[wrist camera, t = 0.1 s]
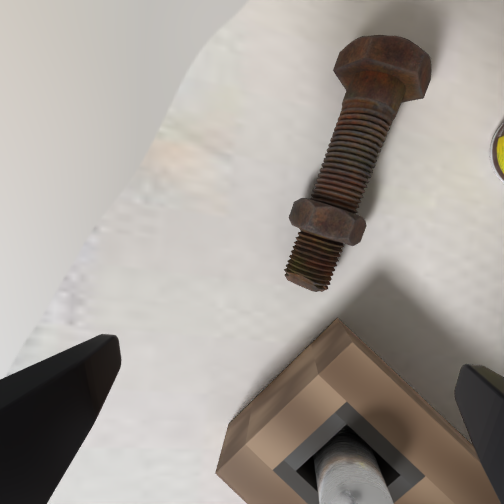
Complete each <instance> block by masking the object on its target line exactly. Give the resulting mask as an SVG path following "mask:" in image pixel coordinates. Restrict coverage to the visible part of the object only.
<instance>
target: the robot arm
mask: <svg viewBox="0 0 504 504" xmlns="http://www.w3.org/2000/svg"><path fill="white" fill-rule="evenodd" d="M120 367H121V354H120V346H119V340H118V337H117V336H116V335H109V334H101V335H98V336H96V337H94V338H92V339H89V340H87V341H85V342H83V343H81V344H78V345H76V346H74V347H72V348H69V349H67V350H65V351H63V352H61V353H58V354H56V355H54V356H52V357H49V358H47V359H45V360H43V361H41V362H38V363H36V364H34V365H32V366H29V367H27V368H25V369H23V370H21V371H18V372H16V373H14V374H12V375H9V376H7V377H5V378H3V379H1V380H0V504H47V502H48V501H49V499H50V497H51V496H52V494H53V492H54V491H55V489H56V487H57V485H58V484H59V482H60V480H61V479H62V477H63V475H64V474H65V472H66V470H67V469H68V467H69V465H70V463H71V462H72V460H73V458H74V457H75V455H76V453H77V452H78V450H79V448H80V447H81V445H82V443H83V442H84V440H85V438H86V436H87V435H88V433H89V431H90V430H91V428H92V426H93V424H94V423H95V421H96V419H97V417H98V415H99V413H100V411H101V408H102V406H103V404H104V402H105V400H106V398H107V396H108V393H109V391H110V389H111V387H112V385H113V383H114V381H115V378H116V376H117V374H118V372H119V370H120ZM455 400H456V402H457V405H458V408H459V410H460V413H461V415H462V418H463V420H464V423H465V425H466V428H467V430H468V433H469V436H470V438H471V441H472V443H473V446H474V448H475V451H476V453H477V456H478V458H479V460H480V463H481V465H482V467H483V469H484V471H485V473H486V475H487V477H488V479H489V481H490V483H491V485H492V487H493V489H494V491H495V493H496V495H497V497H498V499H499V501H500V503H501V504H504V377H502V376H501V375H499V374H497V373H495V372H494V371H492V370H490V369H488V368H486V367H485V366H482V365H473V364H465V365H463V366H462V367H461V370H460V373H459V377H458V380H457V384H456V387H455Z"/></svg>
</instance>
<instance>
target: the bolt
mask: <svg viewBox="0 0 504 504" xmlns="http://www.w3.org/2000/svg"><path fill="white" fill-rule="evenodd" d="M333 71H334V73H335V74H336V76H337V77H338V79H339V80H340V82H341V83H342V85H343V86H344V88H345V89H346V94H345V97H344V100H343V103H342V111H341V113H340V117H339V118H338V122H337V123H336V127H335V129H334V131H335V132H333V136H332V138H331V140H330V141H331V143H330V144H329V145H328V146H329V148H328V149H327V152H328V153H326V154H325V156H326V158H324V163H323V164H322V167H323V168H321V169H320V172H321V173H320V174H318V176H319V178H318V179H317V182H318V183H317V184H315V186H316V188H315V189H313V191H314V192H315V193H313V194H311V195H312V197H313V198H311V199H305V198H301V199H299V200H297V201H295V202H294V204H293V207H292V210H291V213H290V215H289V219H290V221H291V224H292V225H293V226H296V227H298V228H299V229H300V230H301V232H298V234H299V236H298V237H296V239H297V240H298V241H296V242H294V243H295V244H296V245H295V246H293V248H294V250H292V251H291V252H292V255H290V256H289V257H290V258H291V259H290V260H288V263H289V264H287V265H286V267H287V269H284V270H285V272H286V274H285V277H286V278H287V280H288V281H291V282H293V283H295V284H297V285H299V286H302V287H304V288H306V289H309V290H311V291H315V292H318V291H321V292H322V291H324V290H327V289H328V286H327V285H330V282H329V281H331V280H332V279H331V277H330V276H333V273H332V271H335V269H334V267H335V266H337V264H336V262H338V261H339V260H338V258H337V257H340V254H339V252H343V251H342V250H341V248H342V247H344V245H343V243H345V244H348V245H351V246H354V245H356V244H358V243H359V242H360V241H361V239H362V236H363V234H364V231H365V228H366V222H365V220H364V218H362V217H361V216H359V215H356V214H354V213H357V211H356V208H359V206H358V203H361V201H360V198H363V196H362V193H365V190H364V188H367V185H366V183H369V180H368V178H371V175H370V173H373V170H372V168H374V167H375V165H374V163H376V161H377V160H376V158H377V157H378V156H379V155H378V153H379V152H380V151H381V149H380V148H381V147H382V146H383V143H382V142H384V141H385V137H386V136H387V131H389V129H390V128H389V126H390V125H391V123H392V121H393V119H394V118H395V117H396V114H397V112H398V109H399V107H400V104H401V102H407V101H412V100H417V99H423V98H424V96H425V93H426V90H427V88H428V85H429V83H430V80H431V60H430V57H429V55H428V54H427V53H426V52H425V51H424V50H422V49H421V48H420V47H419V46H417V45H416V44H414V43H413V42H411V41H410V40H408V39H405V38H402V37H398V36H386V35H374V36H362V37H360V38H357V39H356V40H354V41H352V42H351V43H350V44H348V45H347V46H346V47H345V48H344V49H343V50H342V51H341V52H340V53H339V55H338V58H337V61H336V64H335V67H334V70H333Z"/></svg>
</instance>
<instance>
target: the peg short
mask: <svg viewBox="0 0 504 504" xmlns="http://www.w3.org/2000/svg"><path fill="white" fill-rule="evenodd" d="M313 458H314V466H315V473H316V480H317V488H318V495H319V502H320V504H394V503H393V501H392V498H391V496H390V493H389V491H388V488H387V486H386V483H385V481H384V478H383V476H382V473H381V471H380V468H379V466H378V463H377V461H376V458H375V456H374V453H373V451H372V448H371V446H369V445H368V444H367V443H366V442H365V441H364V440H363V439H362V438H361V437H360V436H359V435H358V434H357V433H356V432H355V431H354V430H353V429H352V428H350V427H349V426H347V425H345V426H344V427H343V428H342V429H341V430H340V431H339V432H338V433H337V434H335V435H334V436H333V437H332V438H331V439H330V440H329V441H328V442H327V443H326V444H325V445H323V446H322V447H321V448H320V449H319V450H318V451H317V452H316V453H315V454H314V455H313Z"/></svg>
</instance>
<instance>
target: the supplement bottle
mask: <svg viewBox="0 0 504 504" xmlns="http://www.w3.org/2000/svg"><path fill="white" fill-rule="evenodd" d="M490 162H491V166H492V168H493V171H494V172H495V174H496V175H497V177H498V178H499V179H500V180H501V181H502V182H503V183H504V123H503V124H502V125H501V126H500V127H499V129H498V130H497V132H496V133H495V135H494V137H493V139H492V142H491V146H490Z"/></svg>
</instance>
